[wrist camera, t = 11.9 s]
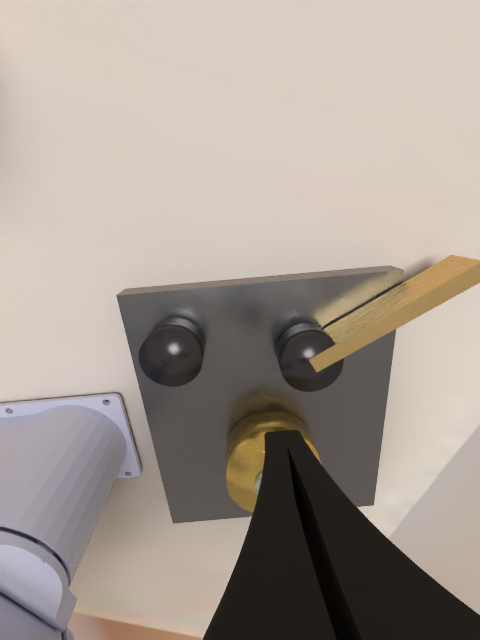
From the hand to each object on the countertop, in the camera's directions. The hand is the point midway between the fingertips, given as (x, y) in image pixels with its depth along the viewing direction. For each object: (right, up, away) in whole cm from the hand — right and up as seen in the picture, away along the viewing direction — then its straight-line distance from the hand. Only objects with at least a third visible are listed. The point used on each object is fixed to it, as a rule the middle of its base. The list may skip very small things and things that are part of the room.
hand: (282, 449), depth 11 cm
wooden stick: (+6, +5, +6) cm, 10 cm away
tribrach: (0, -1, +10) cm, 10 cm away
